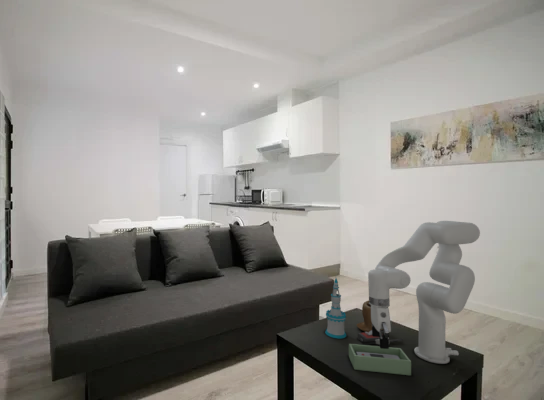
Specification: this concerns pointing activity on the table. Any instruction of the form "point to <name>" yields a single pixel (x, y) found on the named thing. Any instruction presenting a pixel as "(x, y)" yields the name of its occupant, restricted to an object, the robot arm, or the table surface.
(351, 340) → the table surface
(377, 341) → the walkie-talkie
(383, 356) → the remote
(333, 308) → the model tower
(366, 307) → the brown flared hollow piece
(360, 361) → the tray
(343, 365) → the table surface
